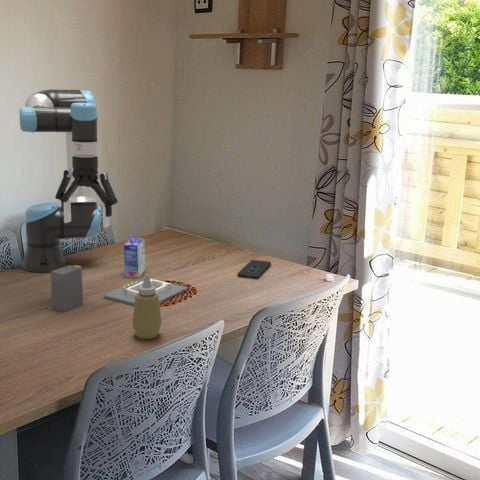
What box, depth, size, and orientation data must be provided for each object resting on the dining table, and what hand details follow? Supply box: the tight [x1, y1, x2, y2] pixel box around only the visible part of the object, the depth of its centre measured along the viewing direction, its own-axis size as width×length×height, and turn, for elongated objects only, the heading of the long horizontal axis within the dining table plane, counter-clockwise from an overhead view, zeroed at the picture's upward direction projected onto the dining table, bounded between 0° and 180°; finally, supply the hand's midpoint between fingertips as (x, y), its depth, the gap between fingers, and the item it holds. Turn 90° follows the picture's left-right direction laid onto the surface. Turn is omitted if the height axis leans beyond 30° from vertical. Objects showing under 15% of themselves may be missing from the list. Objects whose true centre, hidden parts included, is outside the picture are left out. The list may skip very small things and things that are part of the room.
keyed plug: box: [50, 264, 84, 313], centre depth 198 cm, size 5×9×12 cm, turn 150°
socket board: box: [103, 278, 189, 307], centre depth 212 cm, size 18×22×2 cm
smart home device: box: [236, 259, 272, 280], centre depth 241 cm, size 8×2×20 cm
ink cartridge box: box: [123, 233, 146, 279], centre depth 231 cm, size 10×6×14 cm, turn 174°
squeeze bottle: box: [132, 273, 163, 340], centre depth 177 cm, size 8×8×18 cm
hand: (86, 224), depth 197 cm, fingers open, 13 cm apart
